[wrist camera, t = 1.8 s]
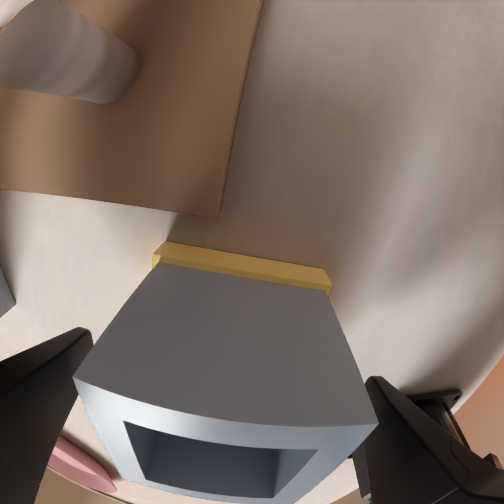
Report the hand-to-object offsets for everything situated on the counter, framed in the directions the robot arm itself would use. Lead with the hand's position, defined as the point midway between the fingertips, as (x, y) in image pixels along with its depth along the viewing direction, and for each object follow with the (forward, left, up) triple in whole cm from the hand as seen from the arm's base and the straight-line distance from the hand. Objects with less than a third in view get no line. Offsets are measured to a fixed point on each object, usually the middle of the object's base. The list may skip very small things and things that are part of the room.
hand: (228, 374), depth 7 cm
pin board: (+10, -8, -3) cm, 13 cm away
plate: (+16, +24, -3) cm, 29 cm away
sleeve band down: (0, 0, -3) cm, 3 cm away
